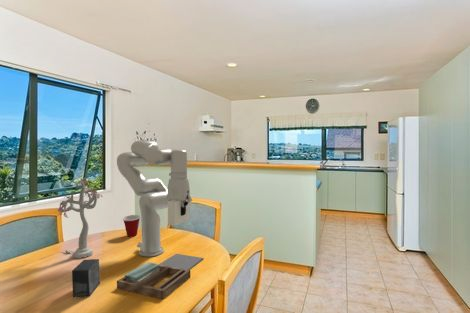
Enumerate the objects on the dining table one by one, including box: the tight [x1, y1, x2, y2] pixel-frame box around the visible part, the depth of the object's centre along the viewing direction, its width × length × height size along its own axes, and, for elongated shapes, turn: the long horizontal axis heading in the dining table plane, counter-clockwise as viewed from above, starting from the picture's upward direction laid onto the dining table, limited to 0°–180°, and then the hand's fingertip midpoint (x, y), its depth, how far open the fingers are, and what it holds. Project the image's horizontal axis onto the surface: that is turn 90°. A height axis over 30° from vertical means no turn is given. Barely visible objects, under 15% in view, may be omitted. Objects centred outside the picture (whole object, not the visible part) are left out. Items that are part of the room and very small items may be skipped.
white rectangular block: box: [167, 200, 190, 227], centre depth 136 cm, size 4×12×11 cm, turn 157°
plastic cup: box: [121, 214, 141, 238], centre depth 181 cm, size 11×11×12 cm
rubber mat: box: [158, 253, 204, 271], centre depth 138 cm, size 16×16×1 cm
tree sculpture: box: [57, 177, 103, 259], centre depth 149 cm, size 28×24×40 cm
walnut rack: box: [116, 265, 191, 300], centre depth 119 cm, size 22×19×3 cm
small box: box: [71, 258, 101, 298], centre depth 112 cm, size 11×6×10 cm, turn 5°
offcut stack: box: [124, 261, 160, 284], centre depth 121 cm, size 7×14×4 cm, turn 158°
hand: (178, 214), depth 136 cm, fingers closed on white rectangular block, 4 cm apart
